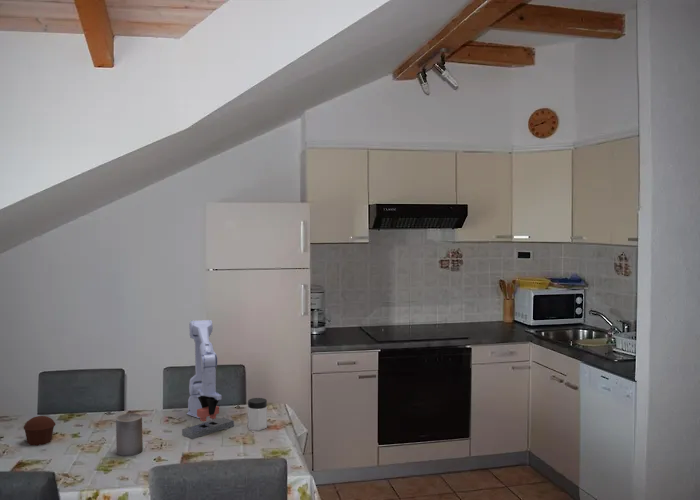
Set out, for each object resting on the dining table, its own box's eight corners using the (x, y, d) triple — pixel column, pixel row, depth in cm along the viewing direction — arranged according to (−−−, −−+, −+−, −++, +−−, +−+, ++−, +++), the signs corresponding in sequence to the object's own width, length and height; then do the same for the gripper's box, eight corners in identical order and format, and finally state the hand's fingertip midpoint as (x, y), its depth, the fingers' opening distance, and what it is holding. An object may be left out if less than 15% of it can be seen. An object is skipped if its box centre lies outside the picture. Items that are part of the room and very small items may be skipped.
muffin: (20, 447, 255) (20, 422, 255) (26, 438, 266) (26, 414, 265) (53, 445, 258) (53, 420, 258) (58, 436, 269) (57, 412, 268)
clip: (196, 421, 276) (196, 409, 276) (213, 416, 283) (213, 404, 282) (202, 422, 274) (202, 411, 273) (219, 417, 281) (219, 406, 280)
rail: (182, 435, 273) (182, 429, 272) (223, 422, 289) (223, 417, 289) (192, 439, 268) (192, 433, 268) (233, 426, 285) (233, 420, 285)
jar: (246, 424, 287) (246, 398, 287) (264, 423, 290) (264, 396, 289) (249, 431, 279) (249, 403, 278) (268, 429, 281) (268, 402, 280)
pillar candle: (133, 445, 260) (133, 408, 259) (147, 451, 254) (147, 413, 253) (111, 452, 252) (110, 414, 251) (125, 458, 246) (124, 419, 245)
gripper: (190, 380, 279) (190, 412, 280) (212, 387, 270) (211, 419, 271) (204, 377, 285) (203, 408, 285) (225, 383, 275) (225, 415, 276)
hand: (208, 413), depth 278 cm, fingers closed on clip, 3 cm apart
